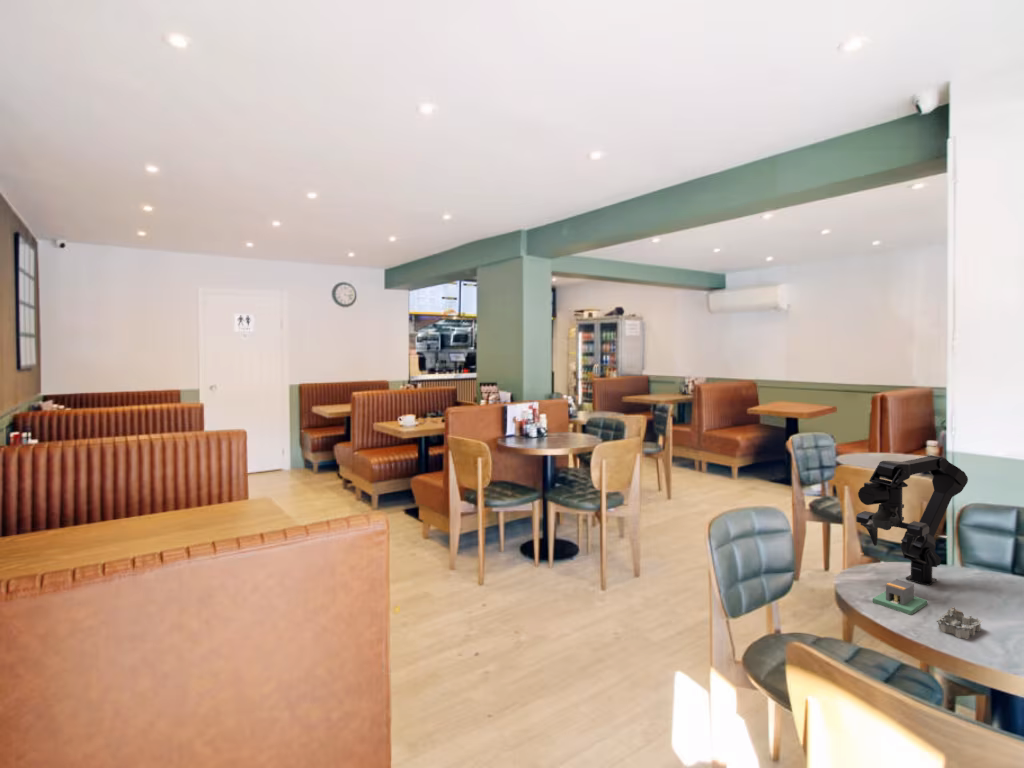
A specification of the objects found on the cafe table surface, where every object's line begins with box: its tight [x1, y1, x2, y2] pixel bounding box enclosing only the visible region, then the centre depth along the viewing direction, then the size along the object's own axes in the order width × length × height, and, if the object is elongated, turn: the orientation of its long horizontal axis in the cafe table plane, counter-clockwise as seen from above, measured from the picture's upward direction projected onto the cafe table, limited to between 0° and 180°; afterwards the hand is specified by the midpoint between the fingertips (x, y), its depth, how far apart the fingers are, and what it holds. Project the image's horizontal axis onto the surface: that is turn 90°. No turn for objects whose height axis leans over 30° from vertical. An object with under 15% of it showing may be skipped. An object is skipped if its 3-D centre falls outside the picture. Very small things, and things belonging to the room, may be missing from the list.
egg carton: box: [936, 606, 983, 640], centre depth 150 cm, size 11×8×4 cm
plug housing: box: [885, 578, 915, 605], centre depth 166 cm, size 7×5×5 cm, turn 123°
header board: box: [872, 590, 928, 615], centre depth 166 cm, size 11×10×3 cm
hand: (891, 549), depth 177 cm, fingers open, 9 cm apart
